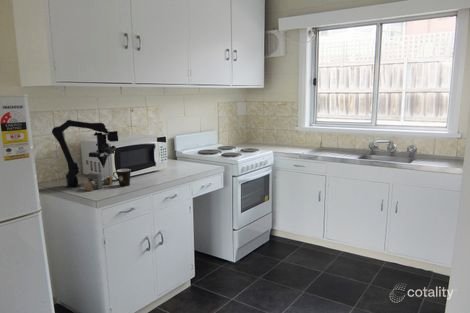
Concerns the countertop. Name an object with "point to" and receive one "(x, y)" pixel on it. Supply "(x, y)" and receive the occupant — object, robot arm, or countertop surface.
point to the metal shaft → (89, 185)
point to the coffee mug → (123, 177)
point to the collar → (98, 180)
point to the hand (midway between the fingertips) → (103, 165)
